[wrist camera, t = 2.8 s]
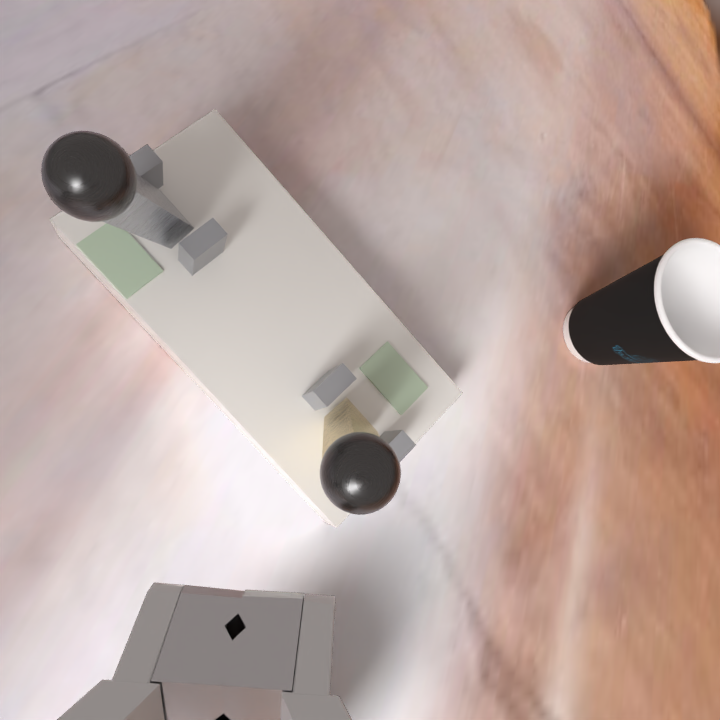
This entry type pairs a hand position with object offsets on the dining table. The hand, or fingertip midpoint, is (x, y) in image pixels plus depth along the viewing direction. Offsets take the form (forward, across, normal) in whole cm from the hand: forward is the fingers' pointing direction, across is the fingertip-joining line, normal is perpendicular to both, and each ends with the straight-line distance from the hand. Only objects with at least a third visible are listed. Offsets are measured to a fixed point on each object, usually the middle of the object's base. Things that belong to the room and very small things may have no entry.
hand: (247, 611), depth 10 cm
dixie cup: (+35, -20, +11) cm, 42 cm away
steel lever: (+27, +10, +2) cm, 29 cm away
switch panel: (+28, +4, +9) cm, 29 cm away
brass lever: (+23, -2, +12) cm, 26 cm away
